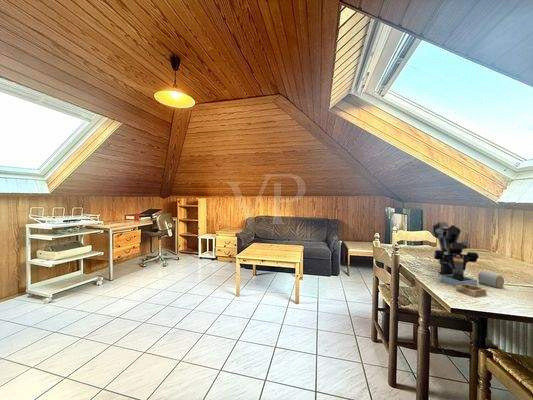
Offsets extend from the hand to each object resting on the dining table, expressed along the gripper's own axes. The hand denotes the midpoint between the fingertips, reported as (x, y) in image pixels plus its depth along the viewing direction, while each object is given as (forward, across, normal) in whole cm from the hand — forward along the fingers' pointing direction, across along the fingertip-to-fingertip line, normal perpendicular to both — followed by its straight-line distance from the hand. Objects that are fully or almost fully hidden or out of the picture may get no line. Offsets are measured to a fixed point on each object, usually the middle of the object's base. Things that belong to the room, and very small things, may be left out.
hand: (459, 269), depth 122 cm
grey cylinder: (+2, +16, +11) cm, 19 cm away
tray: (+5, 0, +7) cm, 9 cm away
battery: (+4, 0, +6) cm, 7 cm away
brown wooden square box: (+15, +1, -2) cm, 15 cm away
